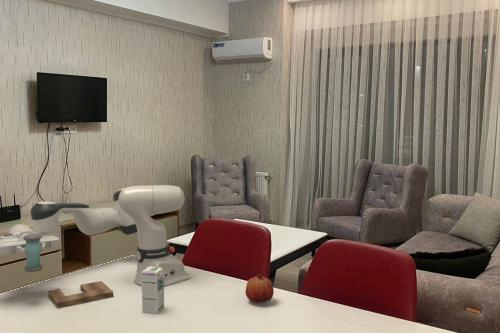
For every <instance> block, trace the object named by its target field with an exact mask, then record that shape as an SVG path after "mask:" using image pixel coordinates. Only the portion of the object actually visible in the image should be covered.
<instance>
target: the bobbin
mask: <svg viewBox="0 0 500 333" xmlns="http://www.w3.org/2000/svg"><path fill="white" fill-rule="evenodd" d="M41 238H42V236H41V234H29V235H25V236H24V240H26V249H27V251H26V252H27V254H25V255H26V256H25V260H26V261H25V262H26V266H25V267H24V271H25V272H26V273H35V272H39V271H42V270H43V265H42V264H41V252H40V239H41Z"/></svg>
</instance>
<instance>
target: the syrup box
mask: <svg viewBox="0 0 500 333" xmlns="http://www.w3.org/2000/svg"><path fill="white" fill-rule="evenodd" d="M141 276H142V285H141V310H142V311H141V312H142V313H144V314H145V313H146V314H154V315H158V314H159V313H160V312H161V311H162V310H163V309H164V307H165V293H164V292H165V290H164V289H165V286H164V279H163V268H162V267H148V268H147V269H145V270H144V271H142V272H141Z"/></svg>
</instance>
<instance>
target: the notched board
mask: <svg viewBox="0 0 500 333" xmlns="http://www.w3.org/2000/svg"><path fill="white" fill-rule="evenodd" d="M79 288H80V291H81V292H78V293H75V294H74V293H73V294H69V295H65V293H63V291H62V290H61V289H60V288H55V289H50V290H47V297H48V298H49V299H50V301H51V302H52V304H54V306H55V308H56V309H61V308H65V307H72V306H76V305H80V304H86V303H91V302H95V301H100V300H104V299H105V300H106V299H110V298H113V297H114V290H112V289H111V288H110V287H109V286H108V285H106V283H105V282H103V281H102V280H99V281H94V282H88V283H82V284H80V286H79Z"/></svg>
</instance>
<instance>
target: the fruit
mask: <svg viewBox="0 0 500 333" xmlns="http://www.w3.org/2000/svg"><path fill="white" fill-rule="evenodd" d="M245 296H246V298H247V299H248V300H249V301H251V302H253V303H260V304H261V303H266V302H269V301H270V300H271V299H272V298H273V296H274V284H273V283H272V281H271V279H269V277H265V276H263V274H261V273H260V274H257V275H255V276H253V277H251V278H249V279H248V280H247V282H246V286H245Z"/></svg>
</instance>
